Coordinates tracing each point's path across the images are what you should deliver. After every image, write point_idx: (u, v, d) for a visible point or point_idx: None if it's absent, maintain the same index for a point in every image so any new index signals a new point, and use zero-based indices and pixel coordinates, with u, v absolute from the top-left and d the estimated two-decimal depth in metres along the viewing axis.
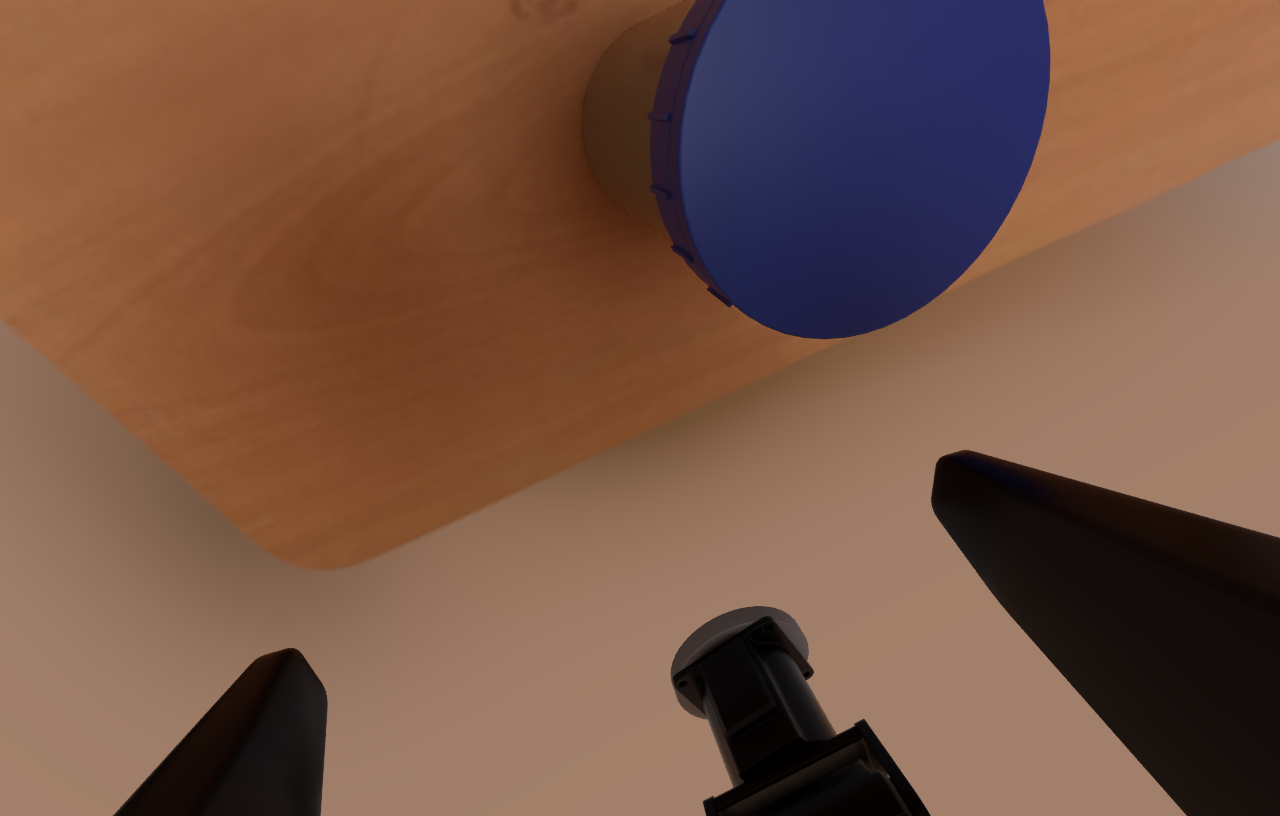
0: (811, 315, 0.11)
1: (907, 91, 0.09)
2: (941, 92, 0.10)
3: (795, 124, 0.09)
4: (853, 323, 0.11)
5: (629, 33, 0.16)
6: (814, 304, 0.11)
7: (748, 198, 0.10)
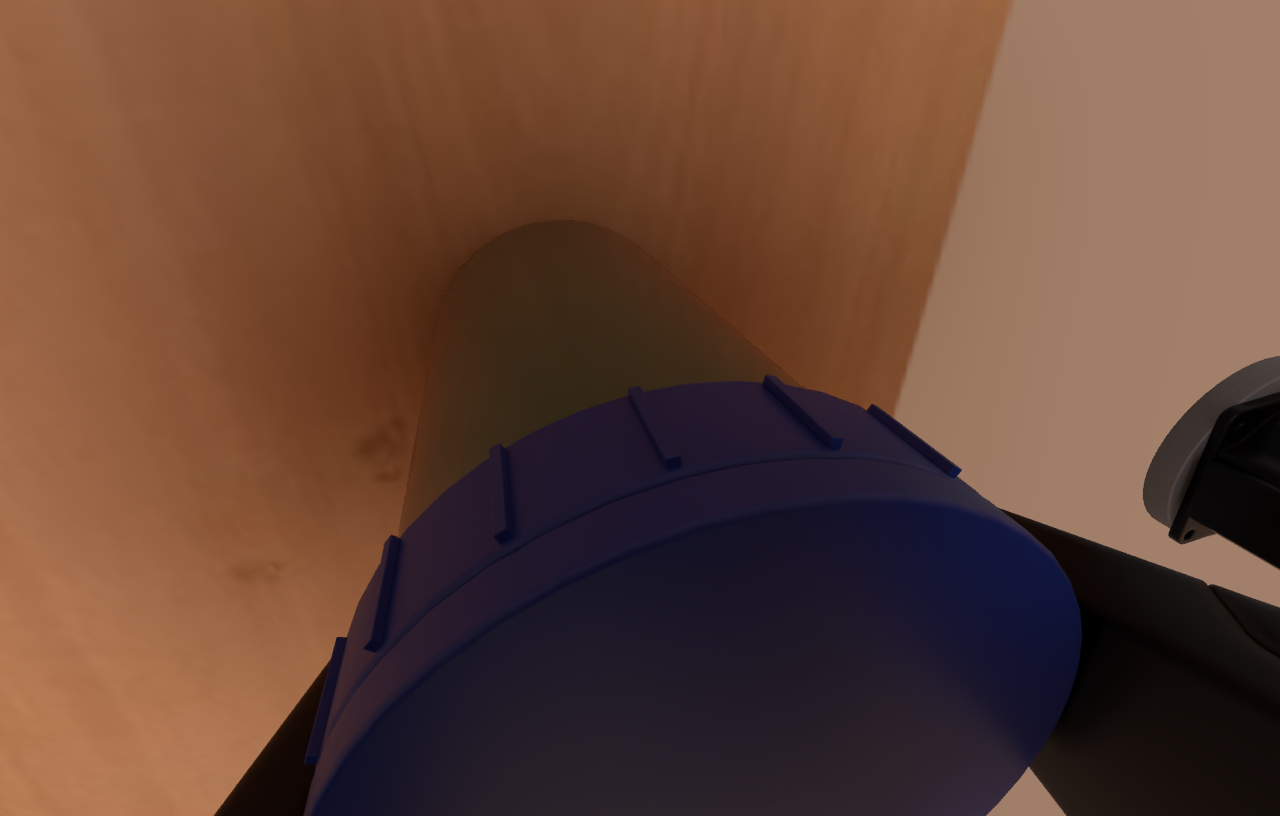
0: None
1: (678, 786, 0.05)
2: (716, 732, 0.04)
3: None
4: (989, 797, 0.06)
5: None
6: None
7: None
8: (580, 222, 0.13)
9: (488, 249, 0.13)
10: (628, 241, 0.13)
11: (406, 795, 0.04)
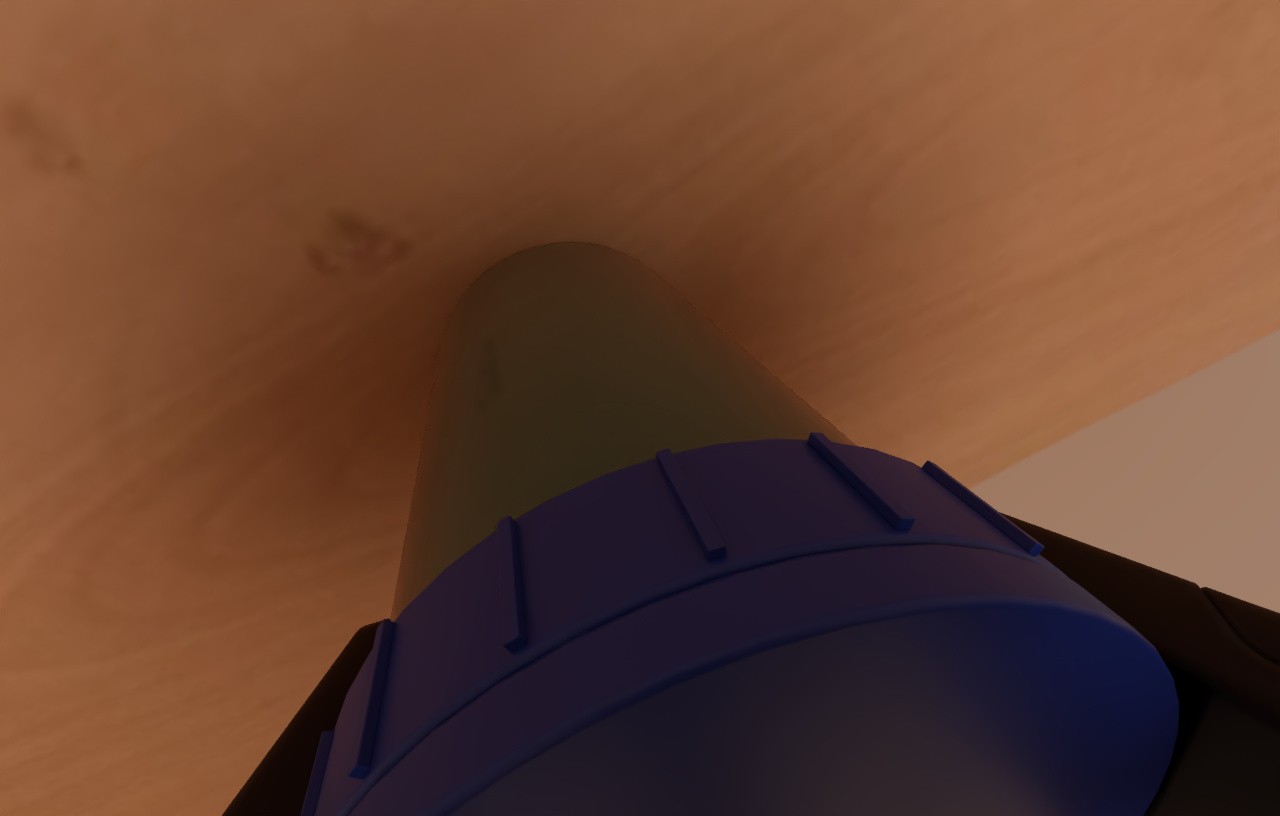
0: None
1: None
2: None
3: None
4: None
5: (468, 313, 0.11)
6: None
7: None
8: None
9: (647, 267, 0.13)
10: None
11: None
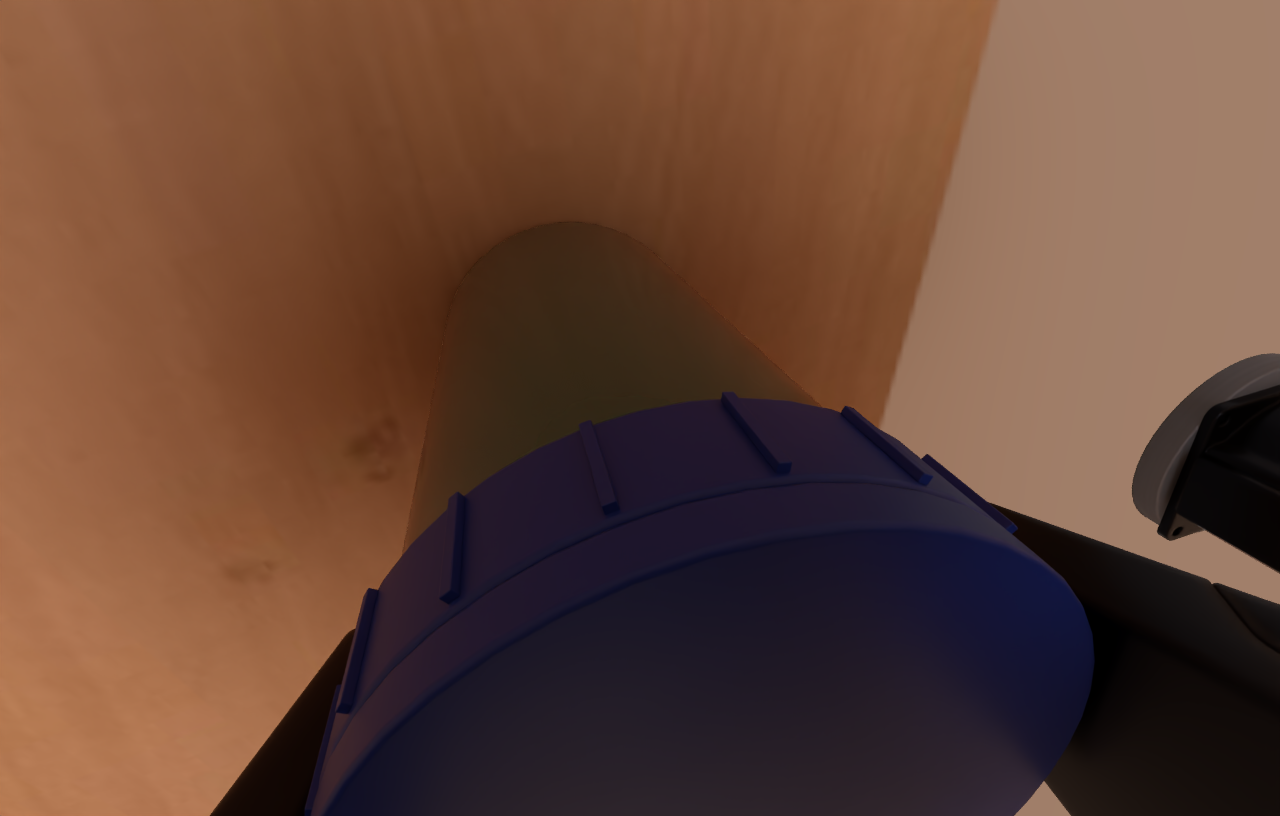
0: (779, 591, 0.04)
1: None
2: None
3: (897, 797, 0.05)
4: (626, 620, 0.03)
5: None
6: (779, 615, 0.04)
7: (975, 701, 0.05)
8: (585, 223, 0.13)
9: (494, 253, 0.13)
10: (633, 241, 0.13)
11: None
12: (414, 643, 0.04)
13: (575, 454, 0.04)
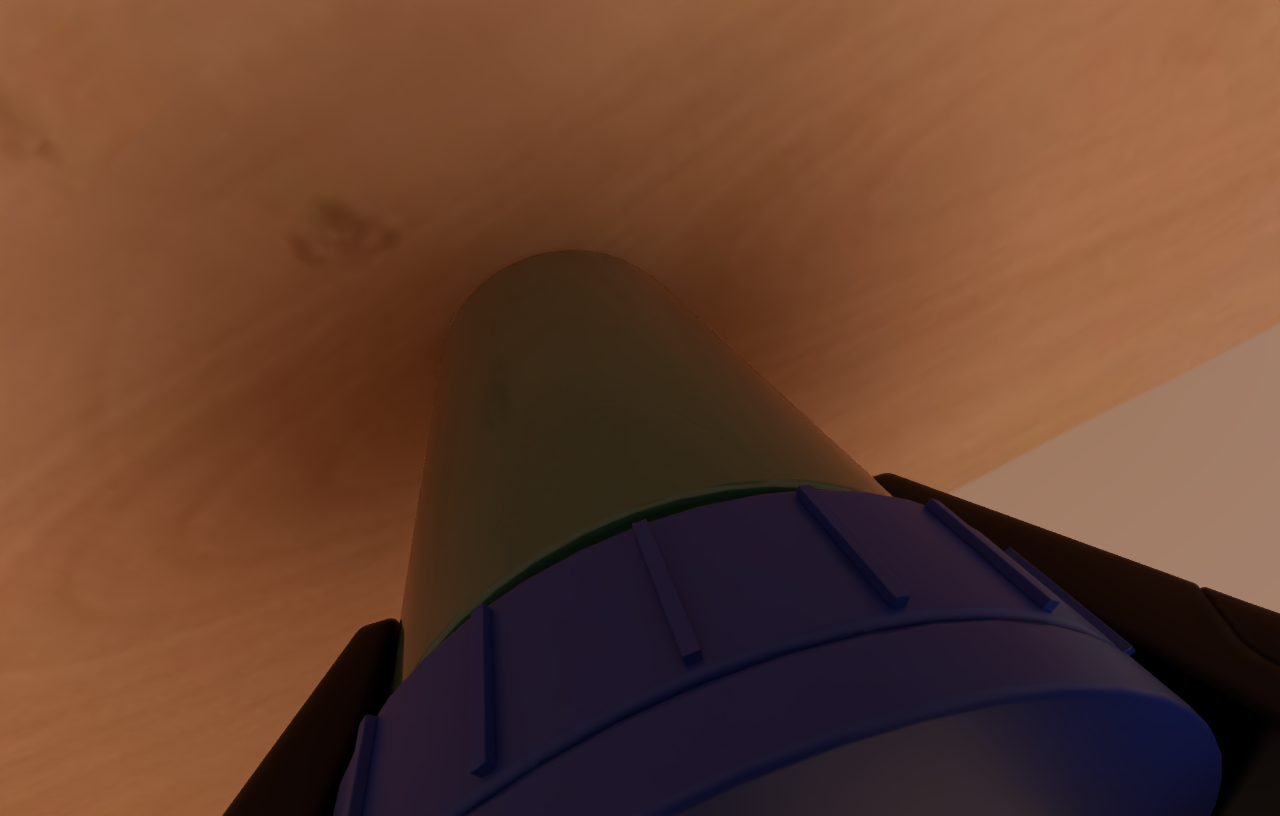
0: (909, 774, 0.03)
1: None
2: None
3: None
4: None
5: (466, 329, 0.11)
6: (903, 799, 0.03)
7: None
8: None
9: (646, 274, 0.13)
10: None
11: None
12: None
13: (631, 565, 0.04)
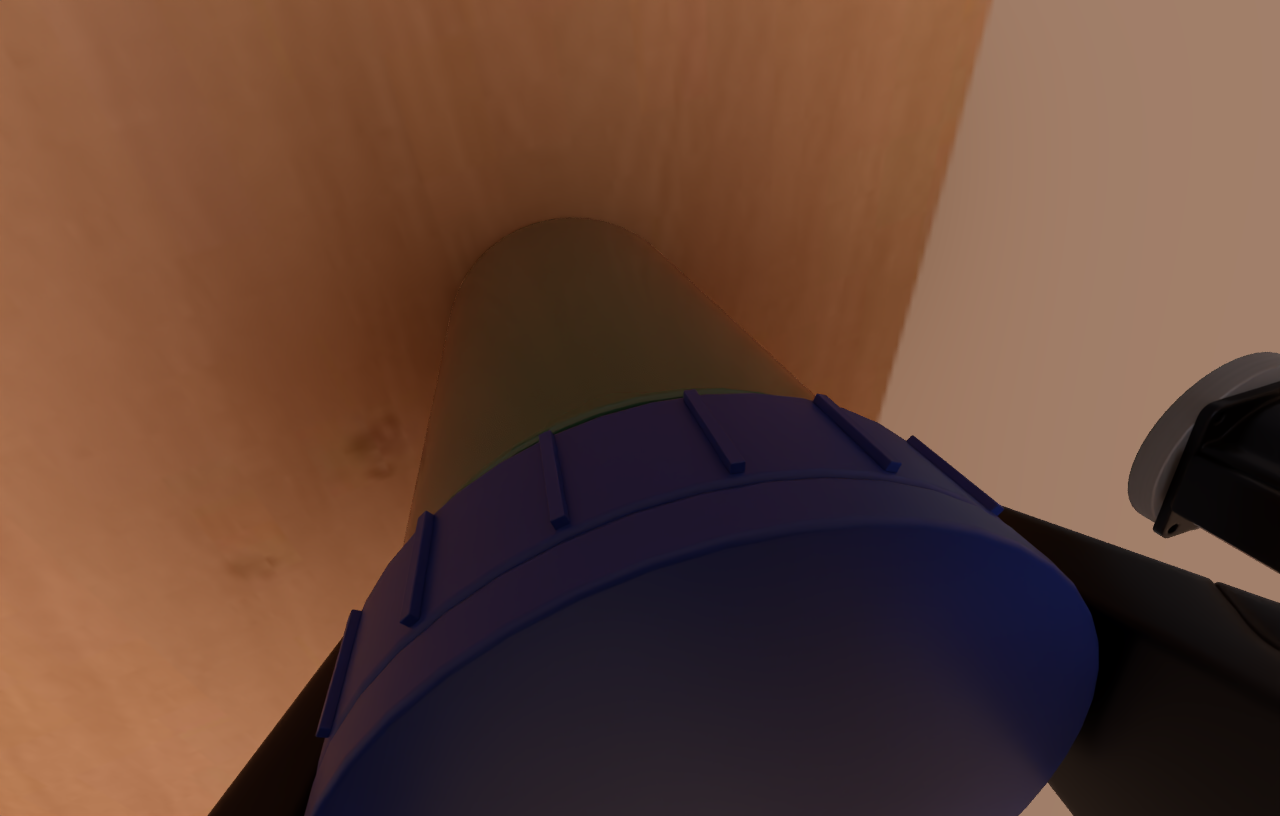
0: None
1: (843, 792, 0.05)
2: (882, 807, 0.05)
3: (640, 781, 0.04)
4: None
5: None
6: None
7: None
8: (578, 218, 0.13)
9: (489, 254, 0.13)
10: (626, 233, 0.13)
11: (1028, 640, 0.04)
12: None
13: None
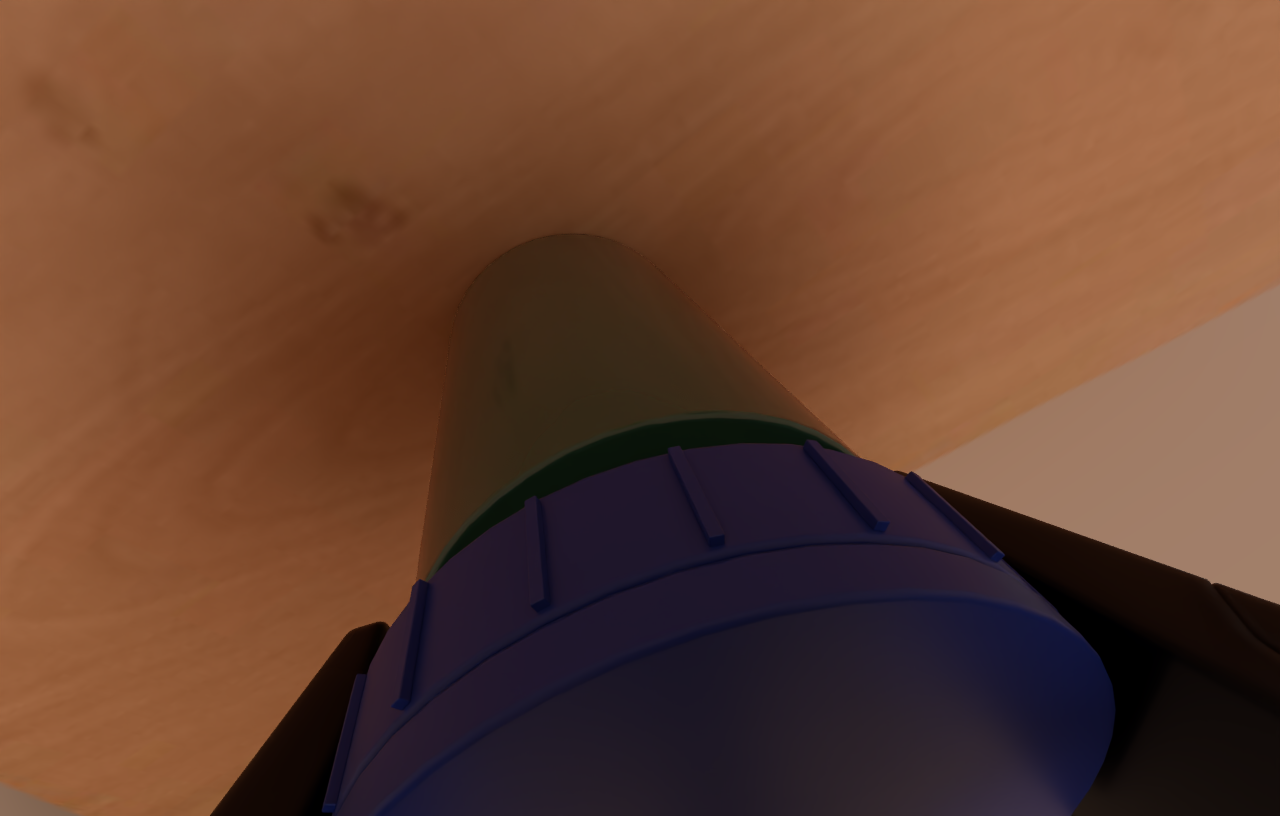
0: None
1: None
2: (850, 793, 0.05)
3: None
4: None
5: (462, 321, 0.12)
6: None
7: None
8: None
9: (622, 247, 0.14)
10: None
11: (675, 699, 0.03)
12: None
13: None
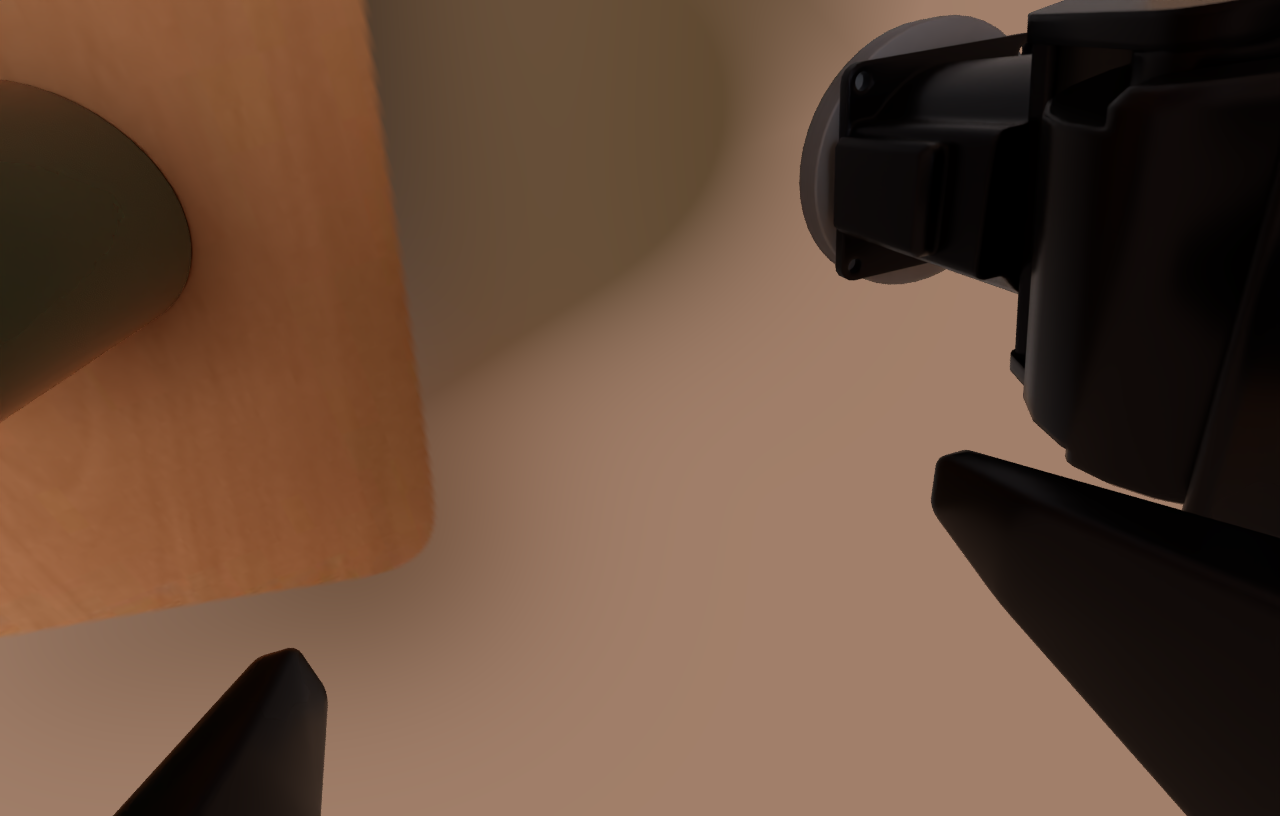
0: None
1: None
2: None
3: None
4: None
5: None
6: None
7: None
8: None
9: None
10: None
11: None
12: None
13: None
